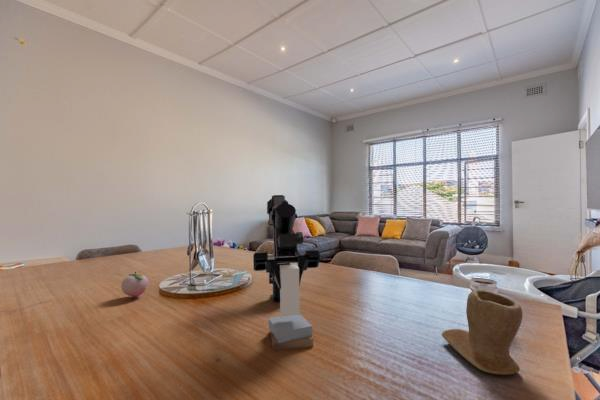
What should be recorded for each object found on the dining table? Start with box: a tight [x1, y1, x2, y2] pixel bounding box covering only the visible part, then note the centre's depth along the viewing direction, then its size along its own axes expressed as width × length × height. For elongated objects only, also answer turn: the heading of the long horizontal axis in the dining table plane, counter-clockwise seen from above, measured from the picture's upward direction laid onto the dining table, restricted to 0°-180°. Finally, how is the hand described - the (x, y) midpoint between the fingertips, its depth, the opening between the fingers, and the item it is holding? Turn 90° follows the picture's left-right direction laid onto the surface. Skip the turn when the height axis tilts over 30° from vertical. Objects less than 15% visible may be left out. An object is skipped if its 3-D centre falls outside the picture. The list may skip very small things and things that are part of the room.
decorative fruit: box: [121, 271, 150, 298], centre depth 106 cm, size 9×8×10 cm
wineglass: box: [469, 277, 499, 294], centre depth 80 cm, size 7×7×12 cm
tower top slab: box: [268, 313, 313, 343], centre depth 72 cm, size 9×9×2 cm
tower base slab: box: [270, 331, 314, 351], centre depth 72 cm, size 10×10×2 cm
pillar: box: [279, 263, 301, 316], centre depth 72 cm, size 5×5×12 cm
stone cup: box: [441, 290, 523, 376], centre depth 62 cm, size 15×12×15 cm
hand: (289, 287), depth 72 cm, fingers closed on pillar, 5 cm apart
